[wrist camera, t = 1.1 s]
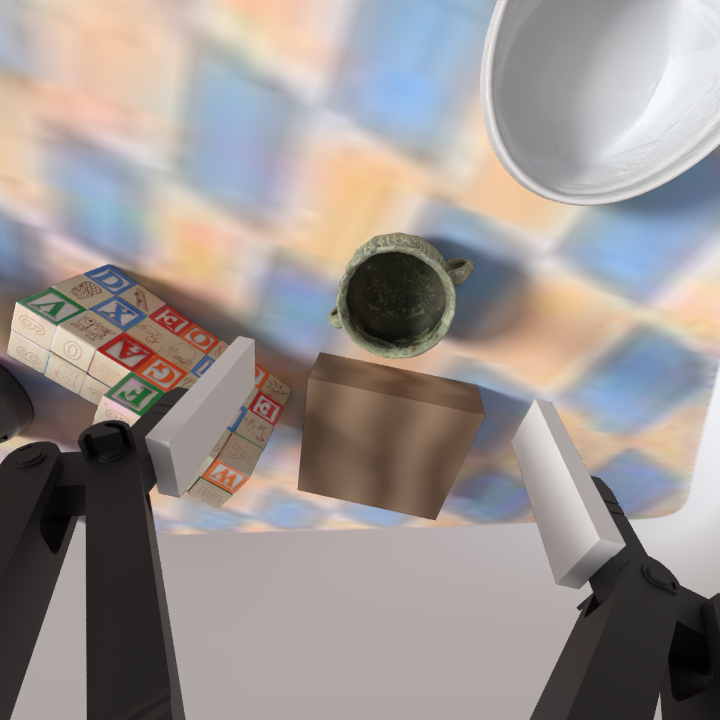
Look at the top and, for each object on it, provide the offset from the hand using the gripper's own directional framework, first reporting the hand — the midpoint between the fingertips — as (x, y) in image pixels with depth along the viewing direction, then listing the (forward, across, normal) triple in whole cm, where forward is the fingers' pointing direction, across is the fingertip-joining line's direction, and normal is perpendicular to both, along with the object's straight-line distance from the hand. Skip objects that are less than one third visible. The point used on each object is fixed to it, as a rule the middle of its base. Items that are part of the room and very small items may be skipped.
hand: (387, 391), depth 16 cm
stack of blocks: (+16, -19, -12) cm, 28 cm away
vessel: (+16, 0, 0) cm, 16 cm away
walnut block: (+16, +2, -17) cm, 24 cm away
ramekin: (+16, +8, +15) cm, 24 cm away
